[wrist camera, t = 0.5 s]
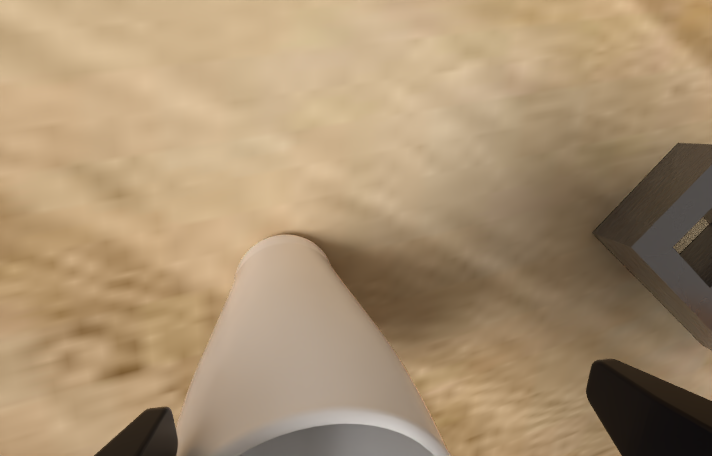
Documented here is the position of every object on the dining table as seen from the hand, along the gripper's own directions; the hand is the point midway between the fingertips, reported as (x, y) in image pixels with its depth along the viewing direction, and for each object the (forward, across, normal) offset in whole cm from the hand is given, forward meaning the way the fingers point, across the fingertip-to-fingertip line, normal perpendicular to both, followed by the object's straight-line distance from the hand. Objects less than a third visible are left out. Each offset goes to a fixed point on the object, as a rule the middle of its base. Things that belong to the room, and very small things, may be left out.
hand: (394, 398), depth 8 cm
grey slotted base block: (+14, -23, +4) cm, 27 cm away
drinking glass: (+14, +3, +4) cm, 15 cm away
